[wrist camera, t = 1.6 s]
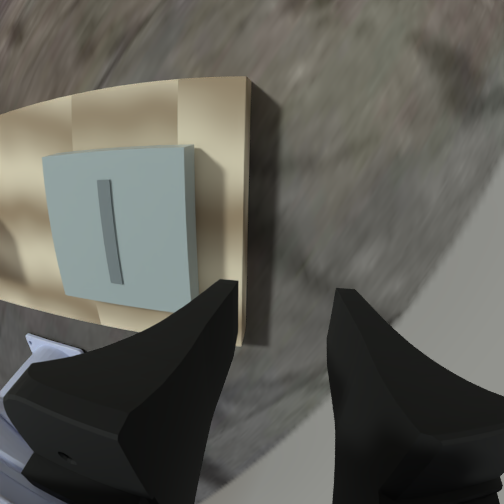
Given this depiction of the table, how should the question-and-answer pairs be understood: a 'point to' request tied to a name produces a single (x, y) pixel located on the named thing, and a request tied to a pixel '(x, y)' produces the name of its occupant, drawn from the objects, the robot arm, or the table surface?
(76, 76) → the table surface
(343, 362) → the robot arm
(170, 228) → the lid
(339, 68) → the table surface
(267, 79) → the table surface
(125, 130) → the light wood flat board
